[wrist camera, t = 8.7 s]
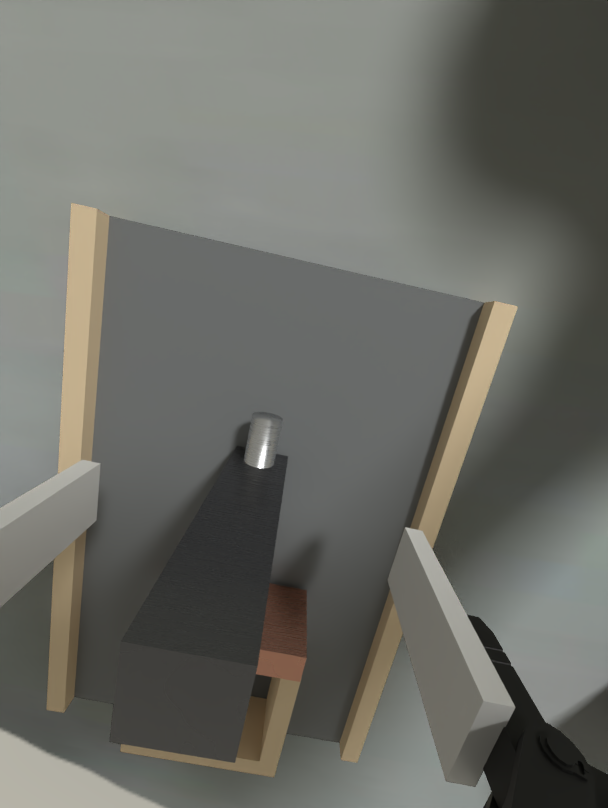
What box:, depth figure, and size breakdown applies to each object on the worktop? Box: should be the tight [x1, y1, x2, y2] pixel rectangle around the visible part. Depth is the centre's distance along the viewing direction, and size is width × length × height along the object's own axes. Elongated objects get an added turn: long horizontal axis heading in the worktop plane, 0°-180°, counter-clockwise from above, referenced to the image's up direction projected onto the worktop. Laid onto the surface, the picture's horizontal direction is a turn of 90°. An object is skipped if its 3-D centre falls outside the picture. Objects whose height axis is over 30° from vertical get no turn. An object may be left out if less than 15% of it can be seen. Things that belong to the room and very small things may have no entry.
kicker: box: [110, 412, 307, 763], centre depth 14 cm, size 14×9×12 cm, turn 168°
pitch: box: [47, 203, 518, 777], centre depth 20 cm, size 32×22×4 cm
